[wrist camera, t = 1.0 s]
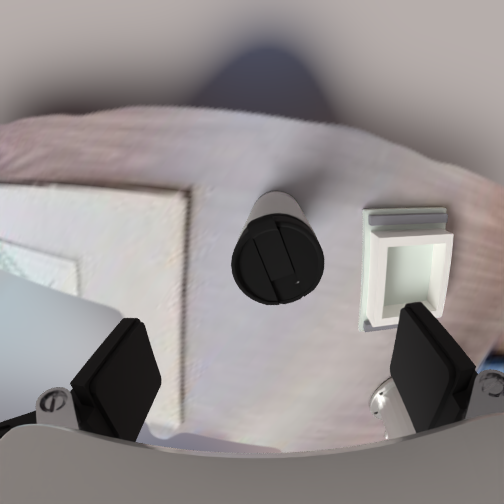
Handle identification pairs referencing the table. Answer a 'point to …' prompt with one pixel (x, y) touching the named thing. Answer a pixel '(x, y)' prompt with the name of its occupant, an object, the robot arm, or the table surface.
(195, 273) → the table surface
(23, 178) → the table surface
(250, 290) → the travel mug
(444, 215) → the white rectangular tray
